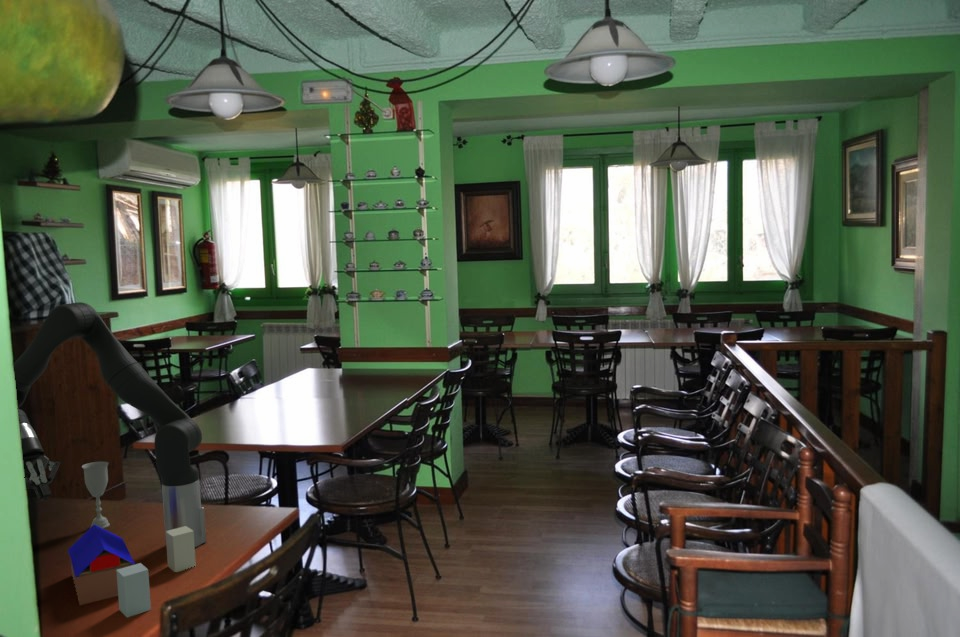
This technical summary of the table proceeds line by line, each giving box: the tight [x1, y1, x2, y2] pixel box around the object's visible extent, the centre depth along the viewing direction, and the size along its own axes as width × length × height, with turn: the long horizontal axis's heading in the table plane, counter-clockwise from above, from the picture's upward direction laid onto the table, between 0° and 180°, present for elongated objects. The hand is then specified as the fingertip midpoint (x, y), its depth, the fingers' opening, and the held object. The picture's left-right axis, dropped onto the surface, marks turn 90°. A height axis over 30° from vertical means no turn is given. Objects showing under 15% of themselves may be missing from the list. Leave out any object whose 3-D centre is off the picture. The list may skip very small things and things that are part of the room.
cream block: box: [165, 526, 197, 573], centre depth 185 cm, size 5×5×9 cm
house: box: [67, 524, 136, 606], centre depth 177 cm, size 12×20×12 cm, turn 33°
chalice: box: [81, 461, 111, 529], centre depth 215 cm, size 7×7×18 cm
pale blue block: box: [116, 562, 152, 618], centre depth 162 cm, size 5×5×9 cm
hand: (45, 498), depth 192 cm, fingers closed
